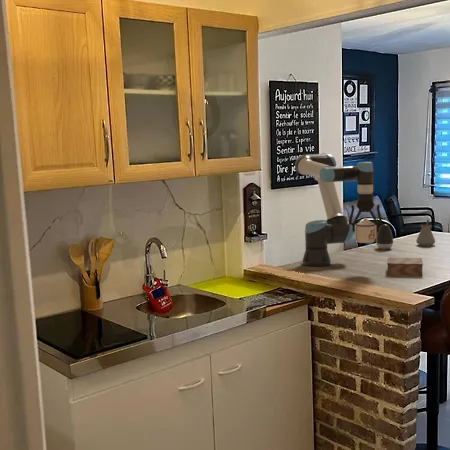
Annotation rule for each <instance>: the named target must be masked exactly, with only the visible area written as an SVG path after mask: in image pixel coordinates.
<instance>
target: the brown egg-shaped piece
mask: <svg viewBox="0 0 450 450" xmlns="http://www.w3.org/2000/svg"><path fill="white" fill-rule="evenodd" d="M375 244H376V247H377V248H379V249H381V250H389V249H391V248H392V246H393V244H394V237H393V233H392V230H391V228H390V226H389V224H385V223H384V224H383V223H382V224H380V225H379V232H377V233H376V239H375Z"/></svg>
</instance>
